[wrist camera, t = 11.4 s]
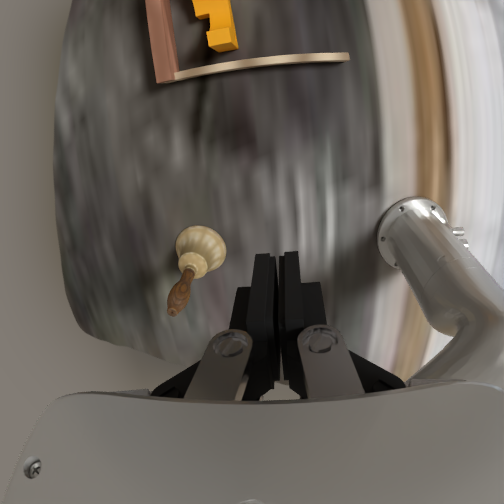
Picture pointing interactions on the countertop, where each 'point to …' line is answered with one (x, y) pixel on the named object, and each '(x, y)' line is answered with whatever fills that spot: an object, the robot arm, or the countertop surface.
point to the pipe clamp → (218, 23)
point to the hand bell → (194, 262)
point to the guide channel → (169, 66)
